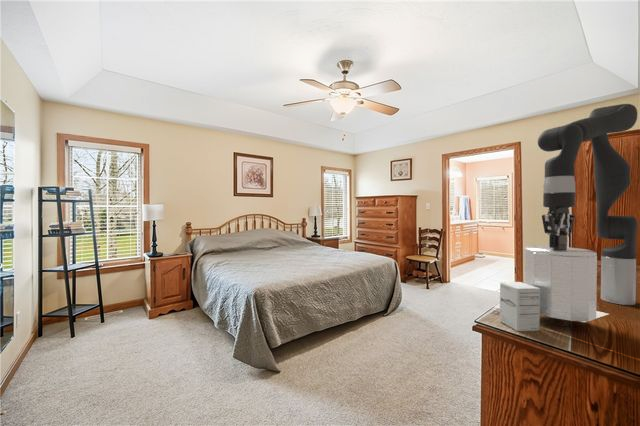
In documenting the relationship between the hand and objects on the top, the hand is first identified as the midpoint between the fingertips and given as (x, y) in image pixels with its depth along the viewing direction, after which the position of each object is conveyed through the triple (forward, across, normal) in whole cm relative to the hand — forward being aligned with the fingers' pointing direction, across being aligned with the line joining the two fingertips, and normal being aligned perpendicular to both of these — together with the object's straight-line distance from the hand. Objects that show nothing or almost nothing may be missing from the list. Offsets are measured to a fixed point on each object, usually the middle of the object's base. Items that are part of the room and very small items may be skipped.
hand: (558, 247), depth 87 cm
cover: (+20, 0, 0) cm, 20 cm away
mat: (+24, -16, -5) cm, 29 cm away
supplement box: (+24, +13, -4) cm, 28 cm away
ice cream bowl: (+24, 0, 0) cm, 24 cm away
